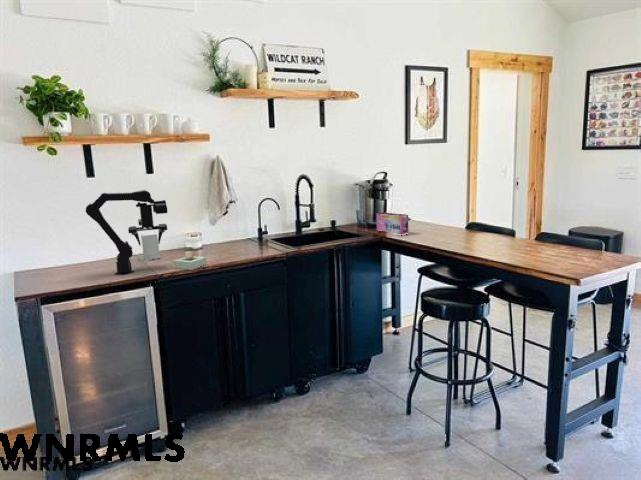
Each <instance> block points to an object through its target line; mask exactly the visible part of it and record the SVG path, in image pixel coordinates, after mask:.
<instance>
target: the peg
mask: <svg viewBox="0 0 641 480" xmlns="http://www.w3.org/2000/svg"><path fill="white" fill-rule="evenodd" d="M184 255H185V256H184V257H185V258H186V261H192V260H194V257H195V256H194V255H195V254H194V247H193V246H188V247H185V248H184Z"/></svg>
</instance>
